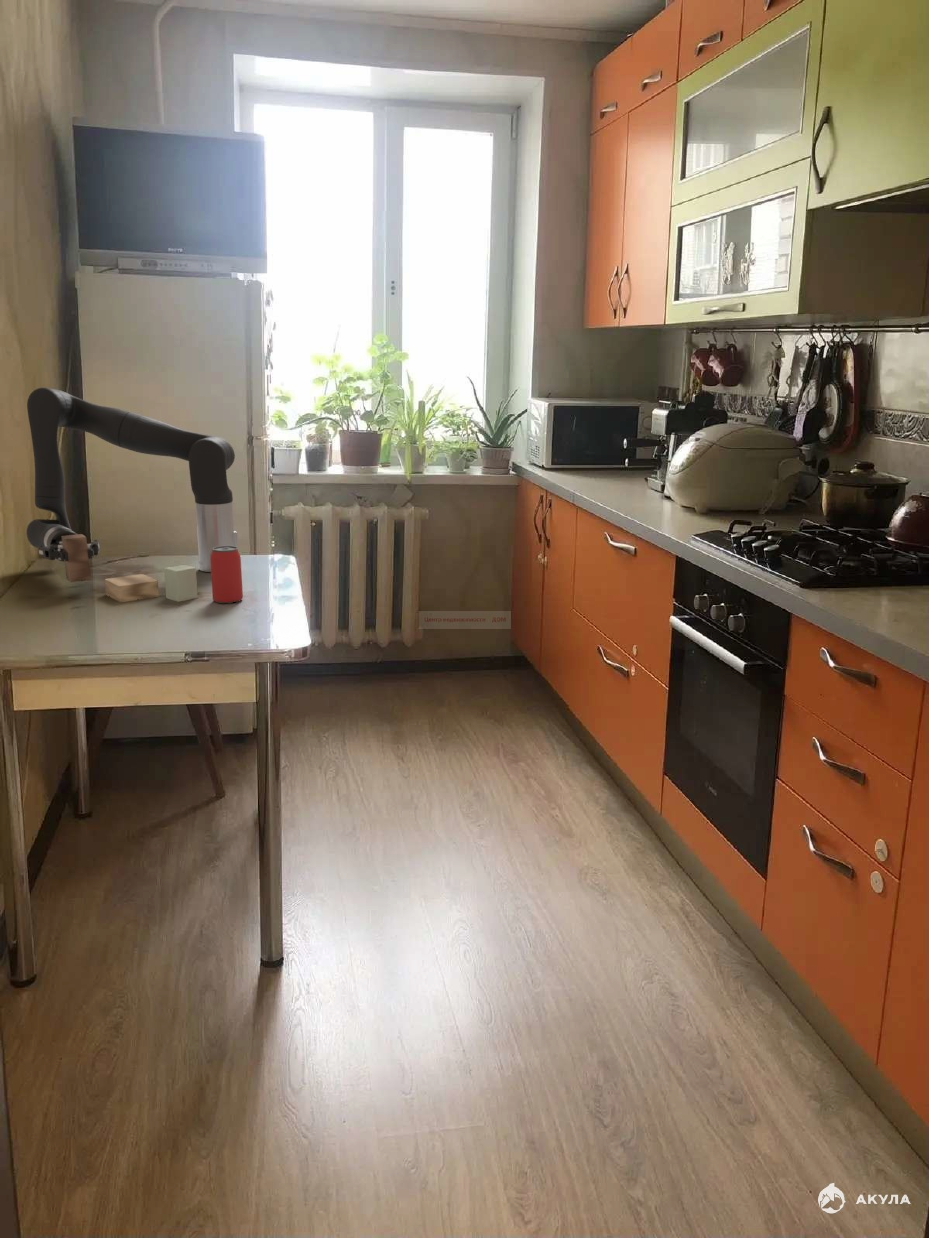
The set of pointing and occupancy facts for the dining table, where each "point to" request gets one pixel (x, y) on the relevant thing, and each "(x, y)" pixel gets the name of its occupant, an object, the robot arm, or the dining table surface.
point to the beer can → (226, 574)
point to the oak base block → (131, 587)
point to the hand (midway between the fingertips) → (78, 555)
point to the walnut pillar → (76, 558)
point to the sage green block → (180, 582)
